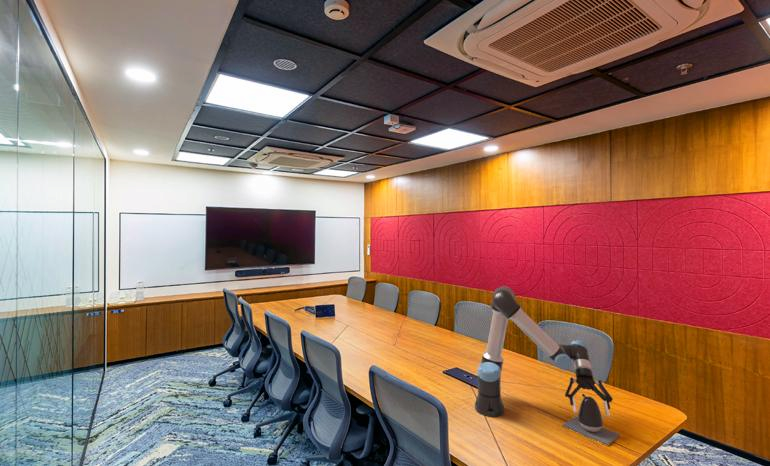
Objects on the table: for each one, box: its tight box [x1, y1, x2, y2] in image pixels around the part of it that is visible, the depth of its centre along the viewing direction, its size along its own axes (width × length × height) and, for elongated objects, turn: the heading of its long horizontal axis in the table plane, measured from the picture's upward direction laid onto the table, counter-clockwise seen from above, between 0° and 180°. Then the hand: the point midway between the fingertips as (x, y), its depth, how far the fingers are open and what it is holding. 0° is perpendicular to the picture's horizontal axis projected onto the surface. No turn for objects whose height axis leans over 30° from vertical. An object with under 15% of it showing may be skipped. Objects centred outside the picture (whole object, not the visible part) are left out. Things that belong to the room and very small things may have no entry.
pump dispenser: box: [577, 393, 604, 432], centre depth 167 cm, size 10×10×15 cm
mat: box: [562, 416, 621, 446], centre depth 167 cm, size 13×20×1 cm, turn 36°
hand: (591, 414), depth 165 cm, fingers open, 13 cm apart
